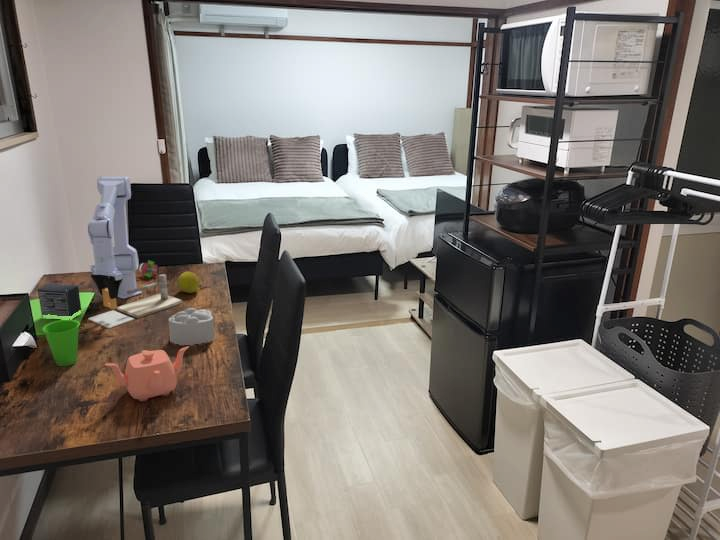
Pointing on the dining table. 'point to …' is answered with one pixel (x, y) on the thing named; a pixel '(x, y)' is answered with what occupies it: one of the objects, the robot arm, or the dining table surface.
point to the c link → (106, 302)
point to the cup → (63, 340)
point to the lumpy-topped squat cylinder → (191, 327)
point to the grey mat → (111, 319)
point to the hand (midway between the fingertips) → (109, 296)
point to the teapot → (149, 373)
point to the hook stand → (150, 300)
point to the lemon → (188, 282)
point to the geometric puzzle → (148, 268)
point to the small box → (59, 299)
